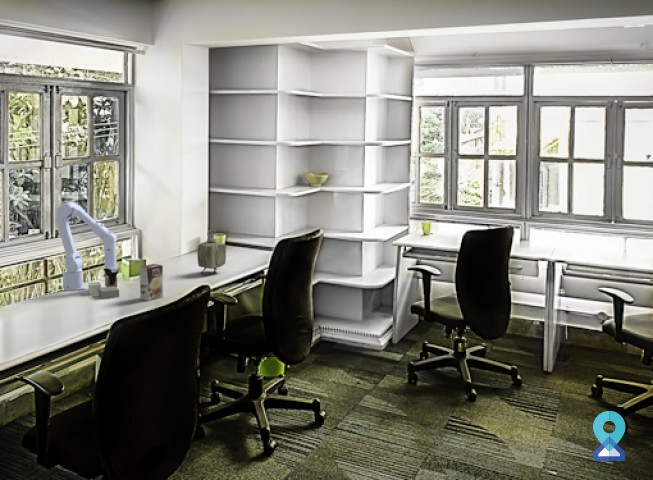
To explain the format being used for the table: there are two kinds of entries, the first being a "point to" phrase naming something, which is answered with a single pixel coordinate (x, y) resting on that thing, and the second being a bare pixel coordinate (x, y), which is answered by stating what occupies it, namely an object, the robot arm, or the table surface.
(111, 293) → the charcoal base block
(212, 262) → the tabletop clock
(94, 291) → the sage cube
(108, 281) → the walnut cube
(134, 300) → the table surface
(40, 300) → the table surface
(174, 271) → the table surface
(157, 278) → the coffee box
